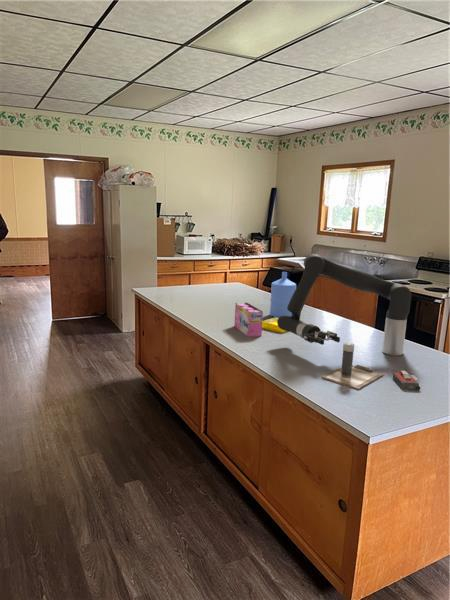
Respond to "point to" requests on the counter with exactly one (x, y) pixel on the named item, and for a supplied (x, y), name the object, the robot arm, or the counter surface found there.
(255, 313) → the pink multipack package
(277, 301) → the water jug
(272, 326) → the element tile
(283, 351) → the counter surface
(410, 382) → the walkie-talkie
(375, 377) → the clipboard
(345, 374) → the bottle
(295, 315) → the robot arm
